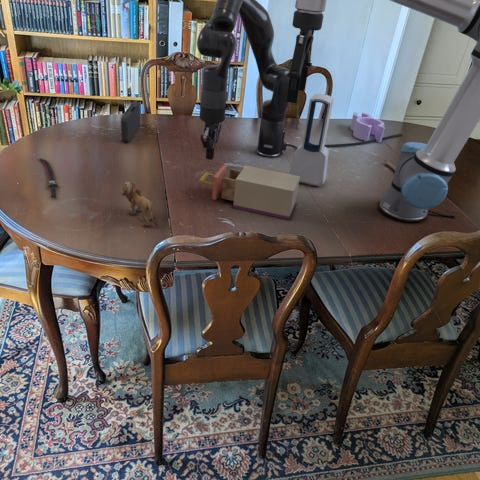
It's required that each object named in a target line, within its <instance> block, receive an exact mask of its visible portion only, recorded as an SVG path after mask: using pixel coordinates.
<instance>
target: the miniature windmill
mask: <svg viewBox="0 0 480 480" xmlns="http://www.w3.org/2000/svg"><path fill="white" fill-rule="evenodd" d="M290 68H291V64H290V63H288V67H287V69H289V70H290ZM299 94H300V93H299V92H298V99H297V103H290V102H289V105H295V106H296V107H295V106H289V105H288V107H287V108H289V109H290V108H291V109H295V111H296V112H295V114H293V113H287V112H286V115H289V116H294V117H295V118H289V117H285V120H289V121H295V129H298V124H300V102H299V101H300V100H299V99H300V95H299Z"/></svg>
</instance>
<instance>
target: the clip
mask: <svg viewBox="0 0 480 480" xmlns="http://www.w3.org/2000/svg"><path fill="white" fill-rule="evenodd" d="M358 114H359V113H358V112H353V114H352V118H351V122H350V126H349V129H350V130H351V131H353V132H352V136H353V137H354V138H356V139H358V140H361V141H363V142H364V141H369V140H370V135H372V136H374V139H376V140H377V141H375V142H376V143H382V138H383V137H384V132H385V129H386V127H385V122H384V121H383V120H380V119H377V118H374V117H372V115H371V114H369V113H366V112H361V115H358Z"/></svg>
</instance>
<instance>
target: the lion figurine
mask: <svg viewBox="0 0 480 480" xmlns="http://www.w3.org/2000/svg"><path fill="white" fill-rule="evenodd" d="M119 193H120V194H121V196H122V197H124V196H125V198H126V199H127V200H128V202H129V203H130V207H131V211H130V212H129V213H130V215H135V214H136V211H137V212H141V214H142V216H143V218H144V219H145V223H144V225H145V227H149V226H150V221H152V223H153V225H155V226H159V222H156V221H155V219H154V217H153V216H154V215H153V204H152V202H151V200H150V199H148V198H146V197H145V196H144V195H143V194H142V192H141V190H140V187H138V185H136V184H135V183H133V182H132V181H125V182H124V186H122V188H121V189H119ZM136 207H137V208H136ZM148 214H149V216H148Z"/></svg>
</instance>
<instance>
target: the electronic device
mask: <svg viewBox="0 0 480 480" xmlns="http://www.w3.org/2000/svg"><path fill="white" fill-rule="evenodd" d="M334 100H335V98H334V97H332V96H331V95H328V94H325V93H316V94H313V96H312V97H310V99H309V103H308V109H307V115H306V121H305V127H304V132H303V138H302V143H300V144H299V145H298V146H297V147H298V148H297V149H295V152H294V156H293V159H292V162H291V166H290V169H289V173H288V174H291V175H296V176H300V179H299V184H300V183H301V184H305V185H309V186H314V187H318V188H320V187H321V186H322V185H324V183H325V181H326V179H327V173H328V163H329V162H328V161H329V153H330V150H329V149H328V147H324V145H326V140H327V135H328V130H329V125H330V119H331V114H332V109H333V104H334ZM317 103H321V104H324V105H325V110H324V115H323V120H322V126H321V132H320V136H319V140H318V144H315V143H311V142H310V139H311V133H312V129H313V122H314V117H315V111H316V107H317Z"/></svg>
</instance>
